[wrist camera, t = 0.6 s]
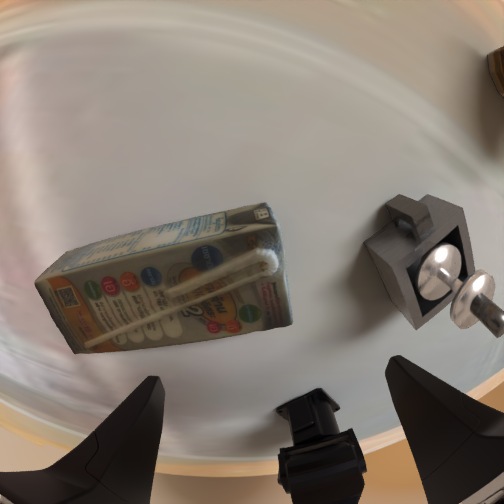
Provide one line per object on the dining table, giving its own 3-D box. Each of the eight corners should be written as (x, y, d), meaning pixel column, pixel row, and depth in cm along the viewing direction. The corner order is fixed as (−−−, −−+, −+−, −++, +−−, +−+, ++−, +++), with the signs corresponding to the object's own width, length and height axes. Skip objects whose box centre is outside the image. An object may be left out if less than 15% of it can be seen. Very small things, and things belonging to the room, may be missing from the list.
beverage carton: (284, 288, 24) (299, 336, 18) (96, 319, 24) (70, 361, 18) (269, 198, 21) (283, 222, 15) (65, 249, 21) (25, 281, 15)
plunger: (460, 274, 19) (521, 324, 11) (422, 306, 20) (477, 370, 12) (451, 230, 17) (526, 277, 10) (408, 266, 18) (478, 330, 10)
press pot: (447, 257, 23) (476, 278, 19) (392, 301, 25) (415, 330, 20) (419, 174, 20) (456, 184, 15) (353, 222, 21) (381, 244, 17)
